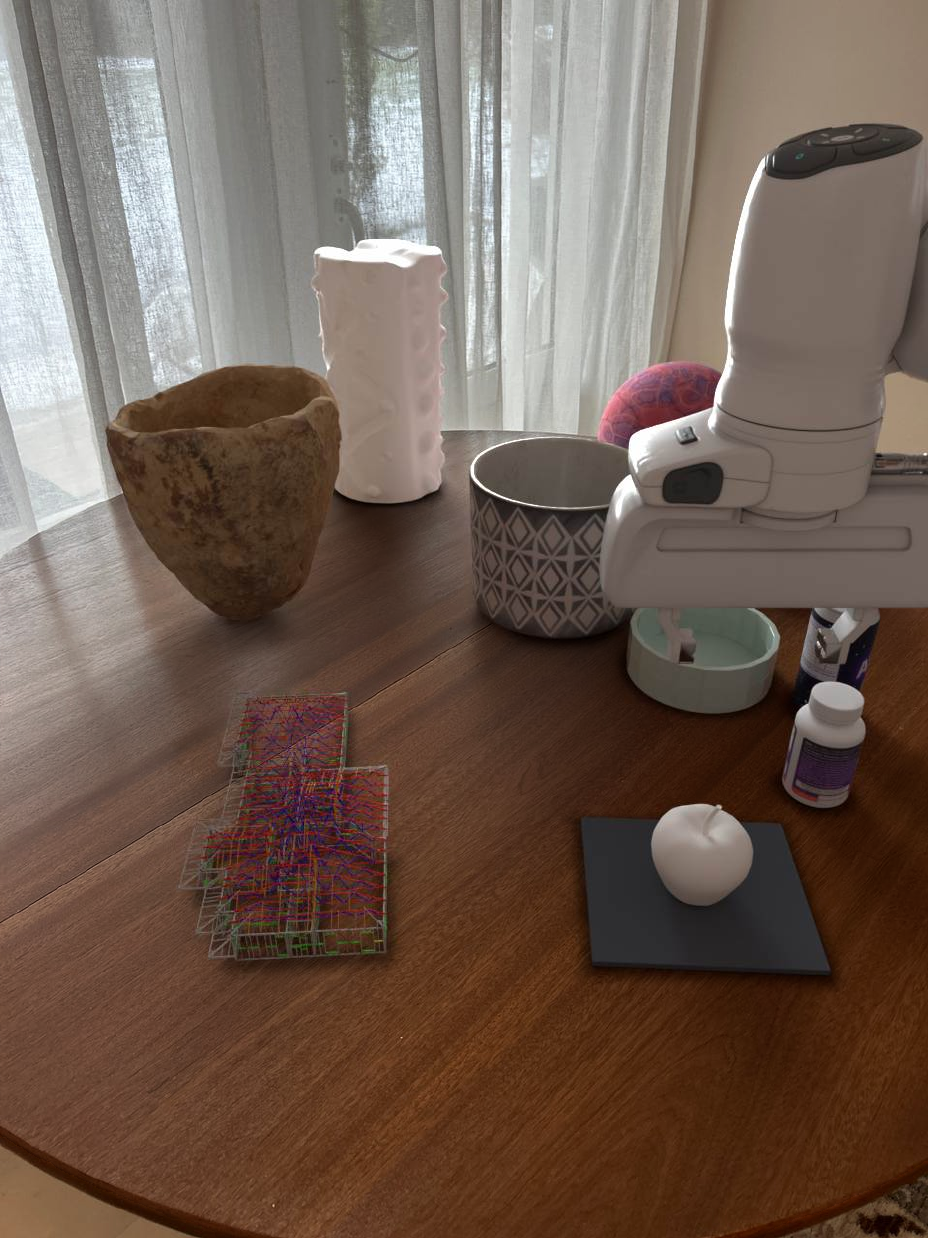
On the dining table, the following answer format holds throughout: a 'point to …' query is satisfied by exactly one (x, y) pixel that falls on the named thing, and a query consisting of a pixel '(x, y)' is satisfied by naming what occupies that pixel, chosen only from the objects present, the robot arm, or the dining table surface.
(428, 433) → the vase
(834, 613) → the beverage can
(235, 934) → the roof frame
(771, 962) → the mat
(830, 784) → the pill bottle
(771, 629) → the fruit bowl
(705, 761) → the dining table surface
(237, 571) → the bowl
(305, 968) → the dining table surface
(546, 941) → the dining table surface
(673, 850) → the plain white apple
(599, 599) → the planter
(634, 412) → the decorative sphere
